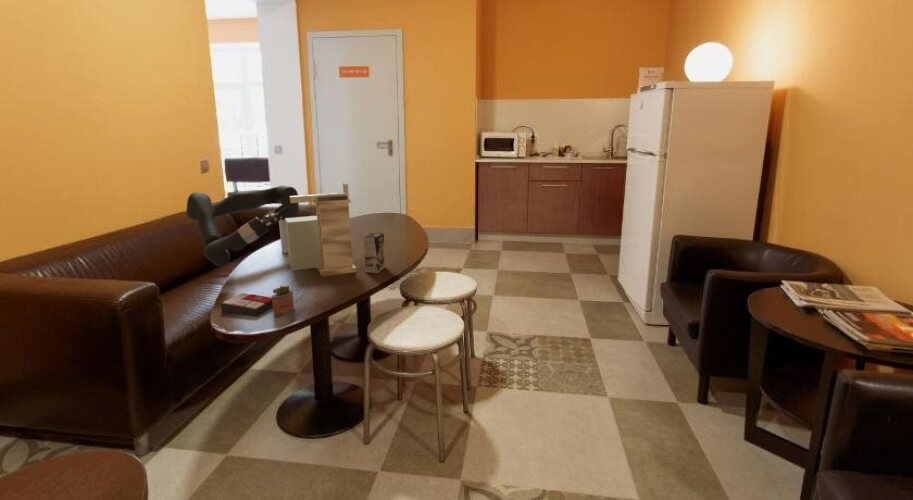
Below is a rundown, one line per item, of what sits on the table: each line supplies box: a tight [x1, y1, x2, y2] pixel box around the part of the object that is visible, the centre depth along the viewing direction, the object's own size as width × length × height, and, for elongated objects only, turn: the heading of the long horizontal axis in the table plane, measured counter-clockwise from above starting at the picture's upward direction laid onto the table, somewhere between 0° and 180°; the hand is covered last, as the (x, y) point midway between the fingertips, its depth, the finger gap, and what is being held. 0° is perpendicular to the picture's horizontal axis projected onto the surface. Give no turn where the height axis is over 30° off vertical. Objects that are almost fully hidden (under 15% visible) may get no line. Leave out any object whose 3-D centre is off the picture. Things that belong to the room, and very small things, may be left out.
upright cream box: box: [285, 215, 321, 272], centre depth 228 cm, size 10×16×22 cm, turn 115°
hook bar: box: [289, 182, 350, 204], centre depth 211 cm, size 3×24×6 cm, turn 115°
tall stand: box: [313, 196, 357, 277], centre depth 218 cm, size 11×15×34 cm
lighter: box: [270, 284, 296, 319], centre depth 173 cm, size 8×3×10 cm, turn 145°
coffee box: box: [363, 232, 386, 274], centre depth 221 cm, size 9×6×16 cm
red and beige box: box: [220, 292, 273, 318], centre depth 179 cm, size 11×4×15 cm
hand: (286, 207), depth 206 cm, fingers open, 8 cm apart
